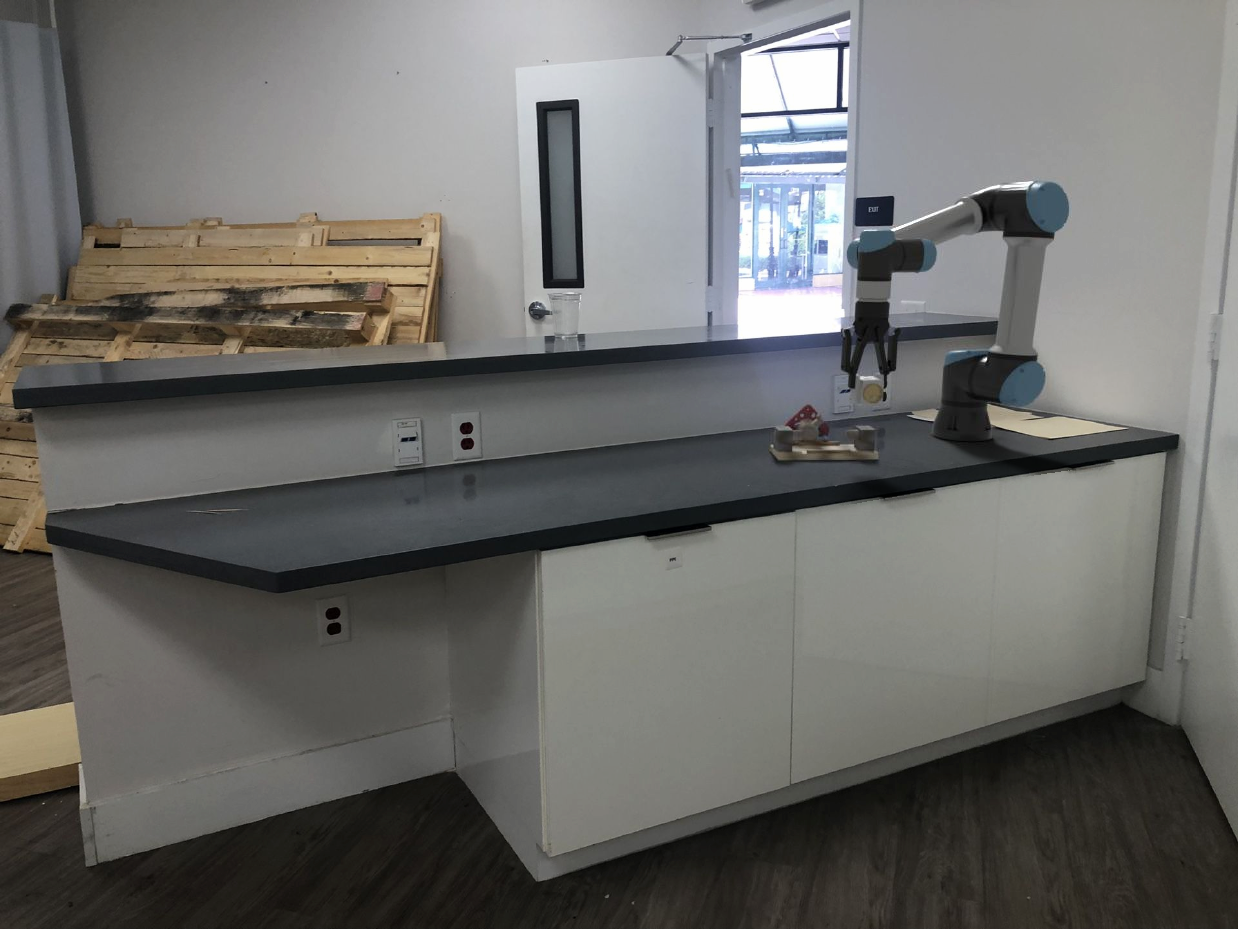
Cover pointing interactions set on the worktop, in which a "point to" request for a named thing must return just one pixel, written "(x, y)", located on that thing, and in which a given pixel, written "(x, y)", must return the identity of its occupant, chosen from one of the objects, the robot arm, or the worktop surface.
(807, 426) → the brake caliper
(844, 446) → the shaft bench
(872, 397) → the coupler
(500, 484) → the worktop surface
